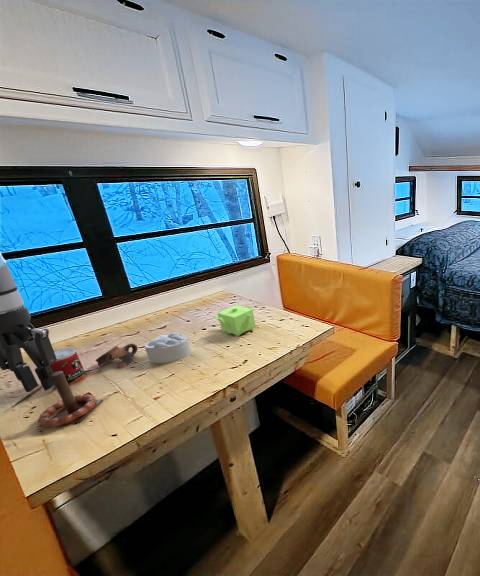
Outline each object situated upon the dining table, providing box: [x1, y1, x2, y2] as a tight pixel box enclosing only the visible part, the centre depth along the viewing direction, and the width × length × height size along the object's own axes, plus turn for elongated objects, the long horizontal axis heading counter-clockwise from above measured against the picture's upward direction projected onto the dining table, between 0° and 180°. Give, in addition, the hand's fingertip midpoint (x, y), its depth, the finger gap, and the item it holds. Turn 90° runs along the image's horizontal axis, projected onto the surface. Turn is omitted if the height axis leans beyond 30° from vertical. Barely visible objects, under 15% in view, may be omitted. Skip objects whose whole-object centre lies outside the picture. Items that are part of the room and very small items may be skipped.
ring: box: [37, 393, 97, 428], centre depth 86 cm, size 12×12×2 cm
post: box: [42, 371, 104, 428], centre depth 85 cm, size 9×9×14 cm
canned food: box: [50, 347, 87, 387], centre depth 100 cm, size 8×8×11 cm
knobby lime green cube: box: [214, 305, 256, 337], centre depth 132 cm, size 15×14×11 cm
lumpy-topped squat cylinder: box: [144, 331, 192, 364], centre depth 114 cm, size 10×13×9 cm
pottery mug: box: [95, 343, 138, 369], centre depth 111 cm, size 12×9×8 cm
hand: (41, 387), depth 83 cm, fingers open, 4 cm apart
